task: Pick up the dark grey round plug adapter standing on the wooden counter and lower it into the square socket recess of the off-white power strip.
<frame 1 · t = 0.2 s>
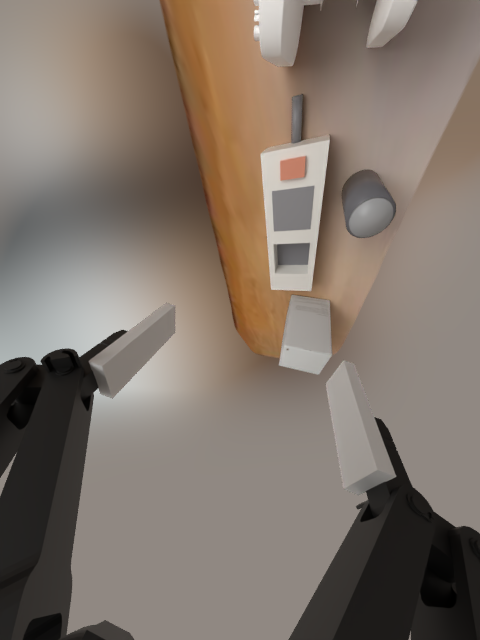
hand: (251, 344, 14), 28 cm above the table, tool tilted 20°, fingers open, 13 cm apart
plug: (359, 189, 27), on the table
power strip: (294, 225, 33), on the table
supplement box: (306, 309, 47), on the table
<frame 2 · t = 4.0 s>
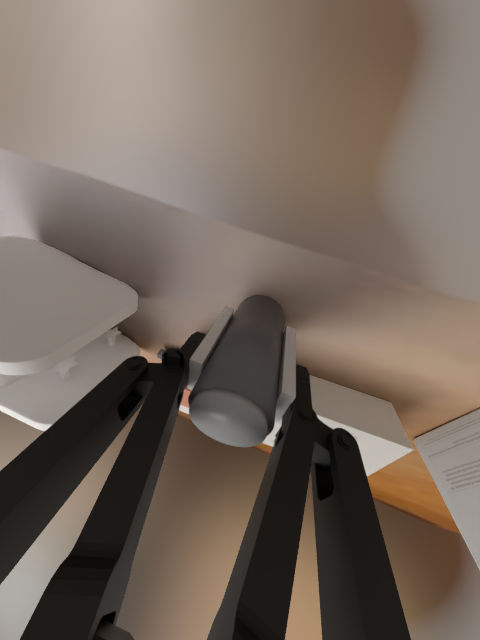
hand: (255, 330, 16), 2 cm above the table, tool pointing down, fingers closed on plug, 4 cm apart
plug: (259, 317, 18), on the table, touching gripper
power strip: (276, 389, 22), on the table
cable organizer: (99, 301, 23), on the table
when the fingers open (6 cm above the table, at t = 8.1 s): plug drops 2 cm, resting on power strip.
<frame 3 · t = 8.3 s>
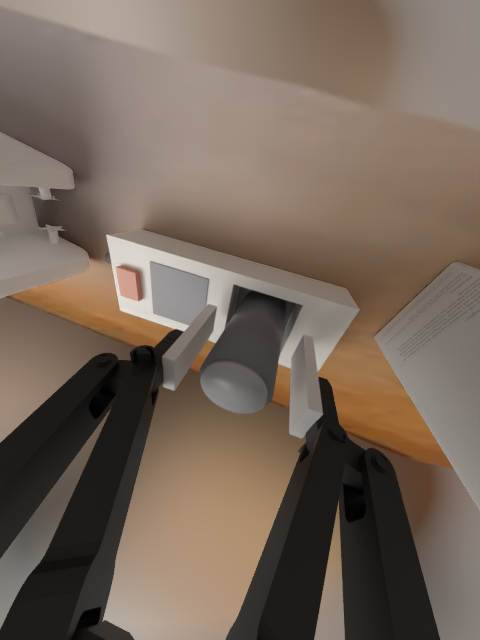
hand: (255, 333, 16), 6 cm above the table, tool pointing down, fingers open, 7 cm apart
plug: (263, 308, 19), point 2 cm above the table, touching power strip
power strip: (231, 291, 21), on the table
supplement box: (449, 321, 17), on the table
cable organizer: (43, 200, 21), on the table
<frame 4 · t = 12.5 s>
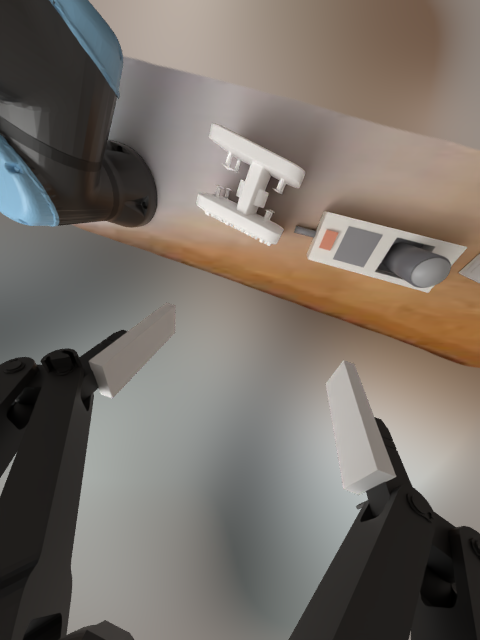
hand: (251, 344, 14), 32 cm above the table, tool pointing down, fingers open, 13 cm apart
plug: (396, 256, 34), point 2 cm above the table, touching power strip
power strip: (370, 248, 36), on the table
cable organizer: (258, 195, 36), on the table
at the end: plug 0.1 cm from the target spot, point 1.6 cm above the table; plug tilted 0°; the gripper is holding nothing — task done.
